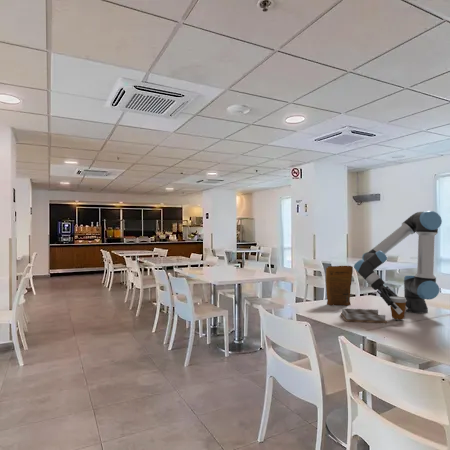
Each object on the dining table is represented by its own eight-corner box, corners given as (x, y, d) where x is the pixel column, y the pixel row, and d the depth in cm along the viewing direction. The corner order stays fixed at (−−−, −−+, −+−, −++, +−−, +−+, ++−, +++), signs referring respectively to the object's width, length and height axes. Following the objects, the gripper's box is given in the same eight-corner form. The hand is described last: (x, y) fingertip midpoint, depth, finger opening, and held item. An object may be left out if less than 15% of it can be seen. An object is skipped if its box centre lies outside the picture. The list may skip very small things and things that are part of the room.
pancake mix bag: (354, 306, 237) (354, 266, 238) (325, 305, 240) (325, 265, 241) (351, 304, 244) (351, 265, 245) (324, 303, 247) (324, 264, 247)
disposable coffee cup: (409, 320, 196) (409, 299, 196) (391, 319, 198) (391, 298, 198) (404, 316, 205) (403, 296, 205) (387, 315, 207) (386, 295, 207)
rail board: (378, 316, 210) (378, 309, 210) (386, 323, 193) (386, 315, 193) (340, 314, 213) (340, 307, 214) (346, 321, 197) (346, 314, 197)
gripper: (377, 283, 220) (404, 312, 209) (363, 287, 205) (392, 318, 193) (385, 275, 217) (414, 304, 205) (372, 279, 201) (402, 310, 190)
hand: (403, 311), depth 199 cm, fingers closed on disposable coffee cup, 9 cm apart
